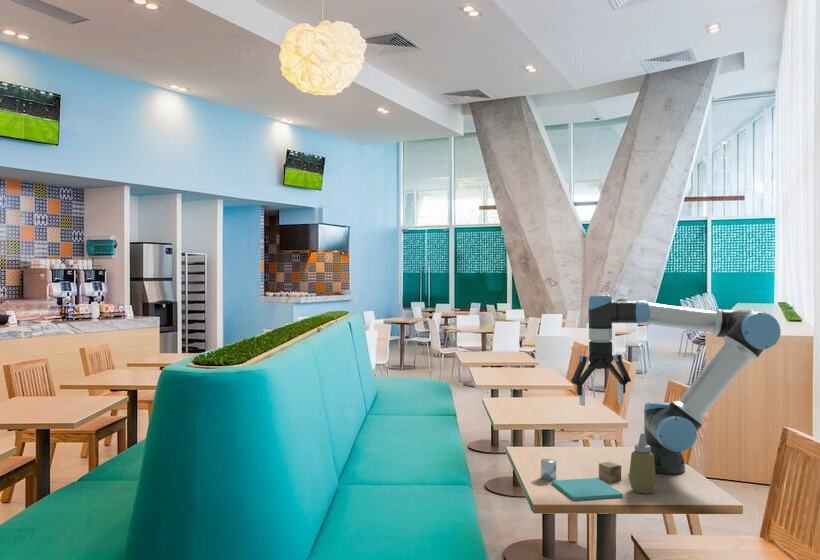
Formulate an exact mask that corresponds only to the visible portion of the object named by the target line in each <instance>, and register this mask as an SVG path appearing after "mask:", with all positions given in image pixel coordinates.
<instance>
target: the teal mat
mask: <svg viewBox="0 0 820 560" xmlns="http://www.w3.org/2000/svg"><path fill="white" fill-rule="evenodd" d="M551 485H553V486H554V487H556V488H557V489H558V490H559V491H560V492H562V493H563V494H564V495H566V496H567V497H568V498H570V499H571V500H572V499H573V500H575V501H585V500H584V499H590V500H603V499H615V498H617V499H618V498H623V493H622V492H620V491H619V490H617V489H615V488H614V487H612V485H610V484H608V483H606V481H604V480H603V479H600V478H599V477H588V478H574V479H570V478H569V479H559V480H558V479H556V480H553V481H551ZM573 500H572V501H573Z"/></svg>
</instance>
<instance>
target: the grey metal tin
mask: <svg viewBox="0 0 820 560" xmlns="http://www.w3.org/2000/svg"><path fill="white" fill-rule="evenodd" d="M540 479H541V480H542V481H544V480H545V482H552V481H553V480H557V460H555V459H554V458H553V459H552V458H542V459H541V460H540Z"/></svg>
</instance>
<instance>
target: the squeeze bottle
mask: <svg viewBox="0 0 820 560" xmlns="http://www.w3.org/2000/svg"><path fill="white" fill-rule="evenodd" d="M650 451H651V446H650V445H647V443H646V438H645V434H644V433H640V436H639V441H638V443H635V444H634V450H633V451H632V452H631V455H630V466H629V474H628V480H629V483H630V486H631V489H632V491H634V492H635V493H637V494H651V493H653V491H654V489H655V486H656V482H657V476H656V474H657V473H655V463H654V455H653V454H652V453H651V452H650Z"/></svg>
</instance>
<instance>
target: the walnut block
mask: <svg viewBox="0 0 820 560" xmlns="http://www.w3.org/2000/svg"><path fill="white" fill-rule="evenodd" d="M598 478H599V479H600V480H602V481H604V482H607V483H613V482H619V481H622V465H621V464H618V463H617V462H616V463H615V462H612V461H606V462H599V463H598Z"/></svg>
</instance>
